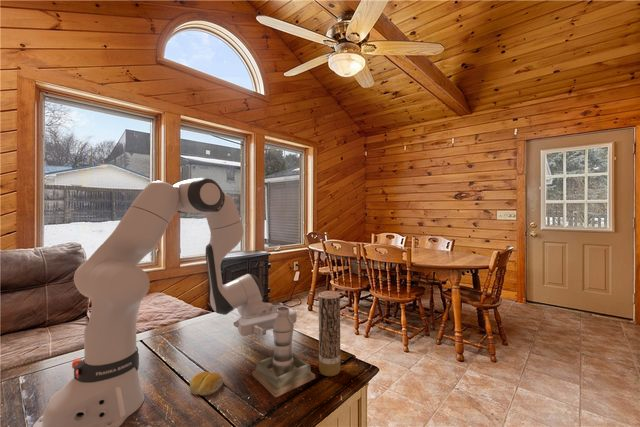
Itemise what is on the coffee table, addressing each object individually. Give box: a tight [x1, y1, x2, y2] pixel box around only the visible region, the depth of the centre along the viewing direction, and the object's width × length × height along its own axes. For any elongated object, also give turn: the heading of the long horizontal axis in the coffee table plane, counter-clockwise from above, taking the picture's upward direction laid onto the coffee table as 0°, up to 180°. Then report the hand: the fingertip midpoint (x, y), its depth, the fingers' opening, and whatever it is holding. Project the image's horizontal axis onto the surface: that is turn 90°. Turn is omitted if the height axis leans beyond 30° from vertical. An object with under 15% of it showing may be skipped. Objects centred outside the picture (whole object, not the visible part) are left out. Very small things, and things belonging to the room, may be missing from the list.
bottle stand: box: [251, 352, 316, 398], centre depth 90 cm, size 14×14×4 cm
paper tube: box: [318, 290, 341, 377], centre depth 92 cm, size 7×7×25 cm
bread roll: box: [189, 371, 224, 397], centre depth 85 cm, size 8×9×4 cm
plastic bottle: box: [272, 306, 295, 376], centre depth 90 cm, size 6×7×20 cm
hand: (277, 328), depth 92 cm, fingers open, 8 cm apart
